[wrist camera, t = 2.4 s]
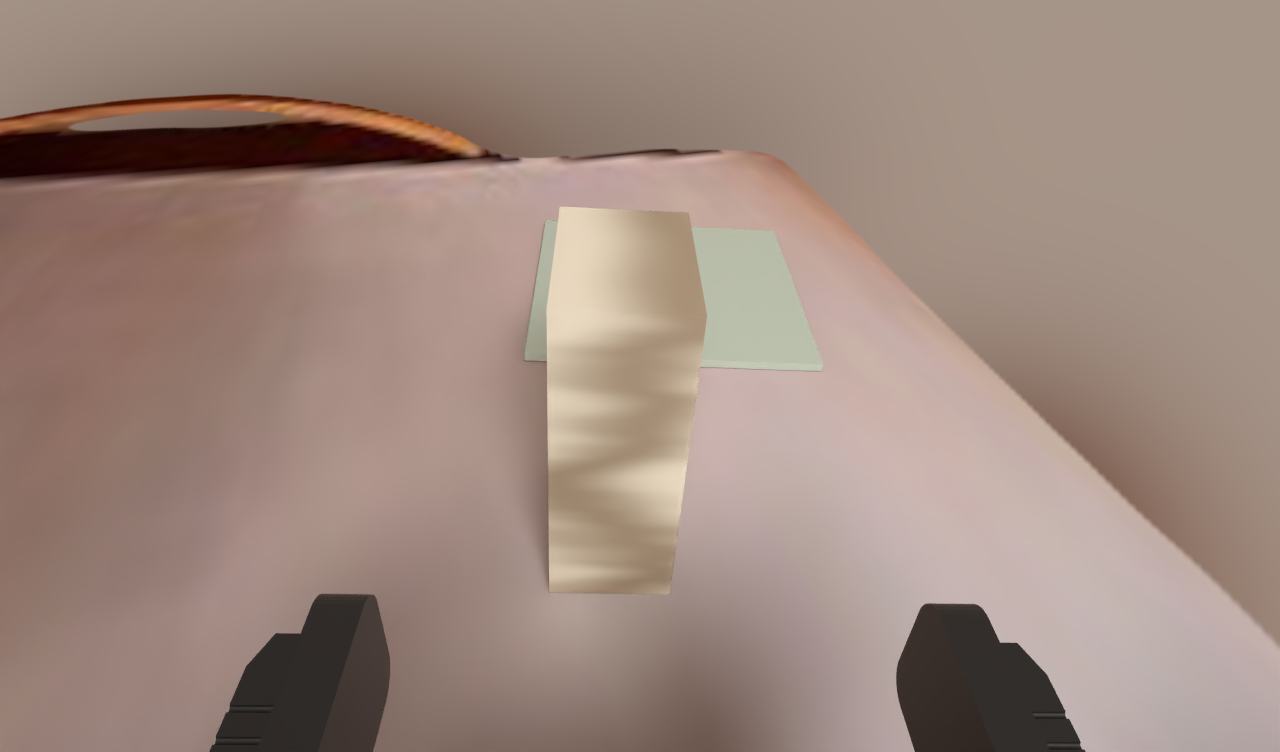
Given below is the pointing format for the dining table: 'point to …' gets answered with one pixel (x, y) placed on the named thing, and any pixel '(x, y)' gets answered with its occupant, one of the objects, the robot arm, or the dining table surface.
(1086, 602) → the dining table surface
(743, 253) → the mat
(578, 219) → the block
